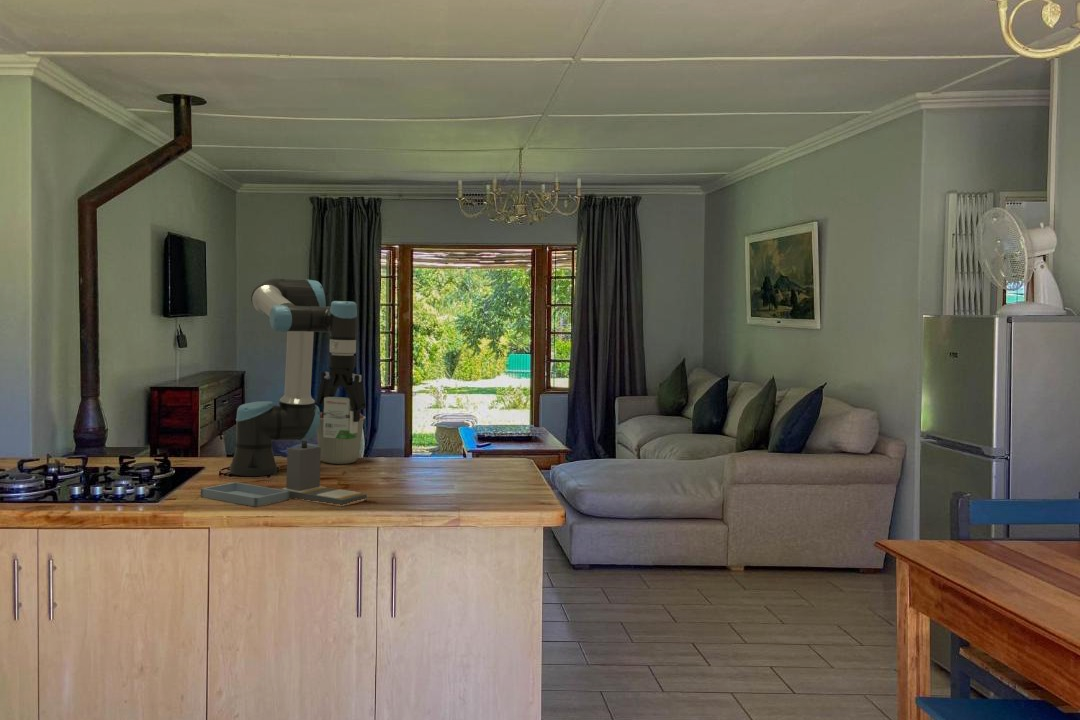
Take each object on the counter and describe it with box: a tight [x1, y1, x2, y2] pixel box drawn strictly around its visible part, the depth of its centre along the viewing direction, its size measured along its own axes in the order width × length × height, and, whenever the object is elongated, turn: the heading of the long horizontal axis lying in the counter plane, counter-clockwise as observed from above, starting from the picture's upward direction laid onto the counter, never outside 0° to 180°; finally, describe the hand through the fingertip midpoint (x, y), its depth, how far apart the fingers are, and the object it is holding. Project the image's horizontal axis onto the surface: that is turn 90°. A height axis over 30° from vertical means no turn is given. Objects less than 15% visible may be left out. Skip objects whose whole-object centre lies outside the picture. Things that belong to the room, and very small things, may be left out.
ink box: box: [323, 396, 356, 439], centre depth 299 cm, size 9×5×12 cm, turn 71°
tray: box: [200, 481, 291, 508], centre depth 300 cm, size 22×14×2 cm, turn 61°
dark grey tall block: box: [285, 440, 321, 491], centre depth 307 cm, size 5×9×14 cm, turn 151°
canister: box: [316, 411, 366, 465], centre depth 368 cm, size 18×18×21 cm
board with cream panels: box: [279, 485, 368, 505], centre depth 304 cm, size 24×11×2 cm, turn 61°
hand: (340, 431), depth 300 cm, fingers closed on ink box, 9 cm apart
